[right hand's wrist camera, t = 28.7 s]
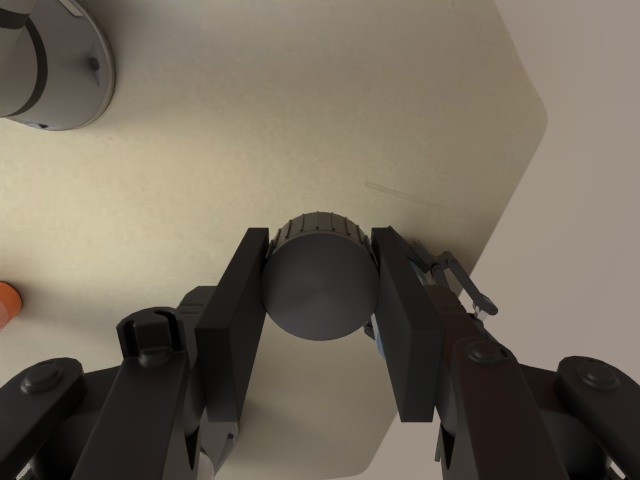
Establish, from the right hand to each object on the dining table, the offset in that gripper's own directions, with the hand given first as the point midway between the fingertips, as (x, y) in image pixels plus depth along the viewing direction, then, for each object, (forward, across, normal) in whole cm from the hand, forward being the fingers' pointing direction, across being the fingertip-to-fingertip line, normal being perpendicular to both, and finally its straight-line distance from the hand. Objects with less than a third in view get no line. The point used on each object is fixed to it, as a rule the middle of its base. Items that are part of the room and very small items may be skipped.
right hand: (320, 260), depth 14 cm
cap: (-2, 0, 0) cm, 2 cm away
